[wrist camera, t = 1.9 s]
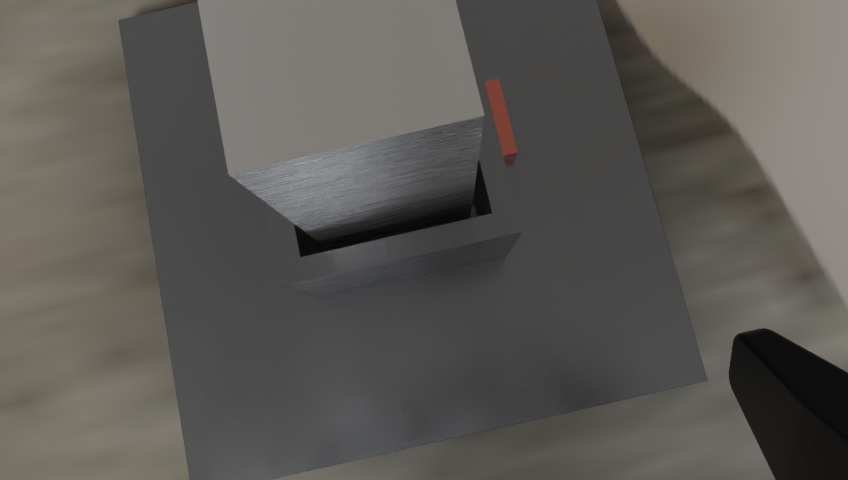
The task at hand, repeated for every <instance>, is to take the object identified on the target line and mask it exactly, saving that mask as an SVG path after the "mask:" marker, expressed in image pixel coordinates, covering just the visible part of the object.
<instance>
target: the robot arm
mask: <svg viewBox="0 0 848 480" xmlns="http://www.w3.org/2000/svg"><path fill="white" fill-rule="evenodd" d="M729 380H730V385H731V388H732V390H733V393H734V395H735V397H736V399H737V401H738V403H739V405H740V407H741V409H742V411H743V413H744V415H745V417H746V419H747V422H748V424H749V426H750V428H751V430H752V432H753V434H754V436H755V438H756V440H757V442H758V444H759V446H760V449H761V451H762V453H763V455H764V457H765V459H766V461H767V463H768V465H769V467H770V469H771V471H772V473H773V475H774V477H775V479H776V480H848V372H846V371H844V370H842V369H840V368H839V367H837V366H835V365H833V364H831V363H830V362H828V361H826V360H824V359H822V358H821V357H819V356H817V355H815V354H813V353H812V352H810V351H808V350H806V349H804V348H803V347H801V346H799V345H797V344H795V343H794V342H792V341H790V340H788V339H786V338H785V337H783V336H781V335H779V334H777V333H776V332H774V331H772V330H769V329H764V328H763V329H756V330H752V331H748V332H743V333H740V334H737V335H736V337H735V338H734V341H733V346H732V354H731V361H730V368H729Z"/></svg>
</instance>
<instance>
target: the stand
mask: <svg viewBox="0 0 848 480" xmlns="http://www.w3.org/2000/svg"><path fill="white" fill-rule="evenodd" d="M456 4H457V8H458V12H459V16H460V20H461V24H462V28H463V32H464V36H465V40H466V43H467V47H468V51H469V55H470V59H471V63H472V67H473V71H474V75H475V79H476V83H477V87H478V91H479V95H480V99H481V103H482V107H483V111H484V115H485V117H484V124H483V131H482V138H481V145H480V152H479V159H478V166H477V173H476V181H475V188H474V195H473V202H472V209H471V216H470V219H465V220H461V221H457V222H452V223H448V224H444V225H439V226H435V227H430V228H426V229H422V230H417V231H413V232H409V233H404V234H400V235H395V236H391V237H387V238H382V239H378V240H374V241H369V242H365V243H360V244H356V245H352V246H347V247H343V248H339V249H334V250H329V249H327V248H326V247H325V246H323V245H322V244H321V243H319V242H318V241H317V240H315V239H314V238H313V237H311V236H310V235H309V234H307V233H306V232H305V231H303V230H302V229H301V228H299V227H298V226H297V225H295V224H294V223H293V222H291V221H290V220H289V219H287V218H286V217H285V216H283V215H282V214H281V213H279V212H278V211H277V210H275V209H274V208H273V207H271V206H270V205H269V204H267V203H266V202H265V201H263V200H262V199H260V198H259V197H258V196H256V195H255V194H254V193H252V192H251V191H250V190H248V189H247V188H246V187H244V186H243V185H242V184H240V183H239V182H238V181H236V180H235V179H234V178H232V177H231V176H230V175H228V169H227V164H226V158H225V153H224V147H223V141H222V136H221V130H220V125H219V119H218V113H217V108H216V102H215V97H214V91H213V85H212V80H211V74H210V69H209V63H208V57H207V52H206V46H205V41H204V35H203V29H202V24H201V18H200V13H199V7H198V2H194V3H190V4H186V5H181V6H177V7H173V8H168V9H164V10H160V11H156V12H151V13H147V14H143V15H138V16H134V17H130V18H125V19H121V20H118V21H119V27H120V34H121V40H122V47H123V53H124V59H125V66H126V72H127V79H128V85H129V92H130V98H131V104H132V111H133V117H134V124H135V130H136V137H137V143H138V150H139V156H140V162H141V169H142V175H143V182H144V188H145V195H146V201H147V207H148V214H149V220H150V227H151V233H152V240H153V246H154V252H155V259H156V265H157V272H158V278H159V285H160V291H161V298H162V304H163V310H164V317H165V323H166V330H167V336H168V343H169V349H170V355H171V362H172V368H173V375H174V381H175V388H176V394H177V400H178V407H179V413H180V420H181V426H182V433H183V439H184V446H185V452H186V458H187V465H188V471H189V478H190V480H270V479H274V478H279V477H283V476H288V475H292V474H297V473H301V472H305V471H310V470H314V469H319V468H323V467H327V466H332V465H336V464H341V463H345V462H350V461H354V460H358V459H363V458H367V457H372V456H376V455H381V454H385V453H389V452H394V451H398V450H403V449H407V448H412V447H416V446H420V445H425V444H429V443H434V442H438V441H443V440H447V439H451V438H456V437H460V436H465V435H469V434H473V433H478V432H482V431H487V430H491V429H496V428H500V427H504V426H509V425H513V424H518V423H522V422H527V421H531V420H535V419H540V418H544V417H549V416H553V415H558V414H562V413H566V412H571V411H575V410H580V409H584V408H589V407H593V406H597V405H602V404H606V403H611V402H615V401H619V400H624V399H628V398H633V397H637V396H642V395H646V394H650V393H655V392H659V391H664V390H668V389H673V388H677V387H681V386H686V385H690V384H695V383H699V382H704V381H707V377H706V374H705V370H704V367H703V364H702V360H701V357H700V353H699V350H698V346H697V343H696V339H695V336H694V333H693V329H692V326H691V322H690V319H689V315H688V312H687V309H686V305H685V302H684V298H683V295H682V291H681V288H680V285H679V281H678V278H677V274H676V271H675V267H674V264H673V261H672V257H671V254H670V250H669V247H668V243H667V240H666V237H665V233H664V230H663V226H662V223H661V219H660V216H659V213H658V209H657V206H656V202H655V199H654V195H653V192H652V189H651V185H650V182H649V178H648V175H647V171H646V168H645V165H644V161H643V158H642V154H641V151H640V147H639V144H638V141H637V137H636V134H635V130H634V127H633V123H632V120H631V117H630V113H629V110H628V106H627V103H626V99H625V96H624V93H623V89H622V86H621V82H620V79H619V75H618V72H617V68H616V65H615V62H614V58H613V55H612V51H611V48H610V44H609V41H608V38H607V34H606V31H605V27H604V24H603V20H602V17H601V14H600V10H599V7H598V3H597V0H456Z"/></svg>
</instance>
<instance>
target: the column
mask: <svg viewBox="0 0 848 480" xmlns="http://www.w3.org/2000/svg"><path fill="white" fill-rule="evenodd" d="M197 1H198V7H199V13H200V18H201V24H202V29H203V35H204V41H205V46H206V52H207V57H208V63H209V69H210V74H211V80H212V85H213V91H214V97H215V102H216V108H217V113H218V119H219V125H220V130H221V136H222V141H223V147H224V153H225V158H226V164H227V169H228V175H230V176H231V177H232V178H234V179H235V180H236V181H238V182H239V183H240V184H242V185H243V186H244V187H246V188H247V189H248V190H250V191H251V192H252V193H254V194H255V195H256V196H258V197H259V198H260V199H262V200H263V201H265V202H266V203H267V204H269V205H270V206H271V207H273V208H274V209H275V210H277V211H278V212H279V213H281V214H282V215H283V216H285V217H286V218H287V219H289V220H290V221H291V222H293V223H294V224H295V225H297V226H298V227H299V228H301V229H302V230H303V231H305V232H306V233H307V234H309V235H310V236H311V237H313V238H314V239H315V240H317V241H318V242H319V243H321V244H322V245H323V246H325V247H326V248H327V249H329V250H334V249H339V248H343V247H347V246H352V245H356V244H360V243H365V242H369V241H374V240H378V239H382V238H387V237H391V236H395V235H400V234H404V233H409V232H413V231H417V230H422V229H426V228H430V227H435V226H439V225H444V224H448V223H452V222H457V221H461V220H465V219H470V216H471V209H472V202H473V195H474V188H475V181H476V173H477V166H478V159H479V152H480V145H481V138H482V131H483V124H484V117H485V115H484V111H483V107H482V103H481V99H480V95H479V91H478V87H477V83H476V79H475V75H474V71H473V67H472V63H471V59H470V55H469V51H468V47H467V43H466V40H465V36H464V32H463V28H462V24H461V20H460V16H459V12H458V8H457V4H456V0H197Z"/></svg>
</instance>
